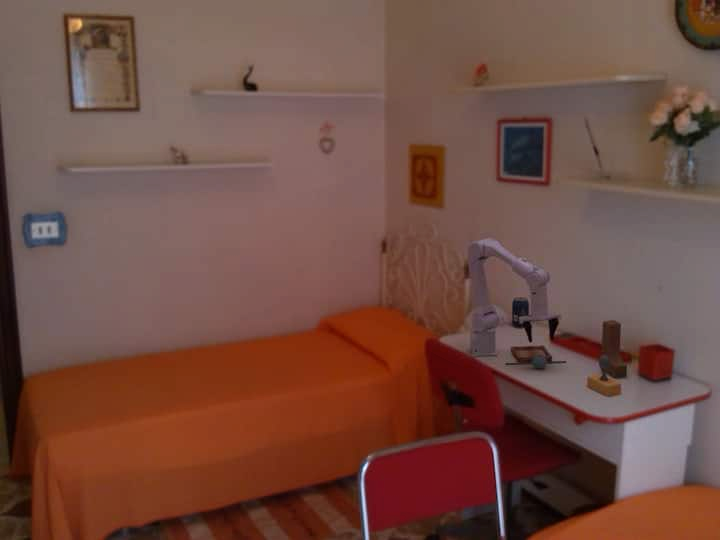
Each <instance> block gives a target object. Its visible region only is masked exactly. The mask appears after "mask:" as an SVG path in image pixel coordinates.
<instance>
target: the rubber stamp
mask: <svg viewBox="0 0 720 540" xmlns="http://www.w3.org/2000/svg"><path fill="white" fill-rule="evenodd" d="M598 359H599V360H598V365H599V369H600V371H601V373H597V374H592V375H587V378H586V379H587V381H586V383H587V384H586V386H587V387H588V388H590V389H591V390H594V391H595V392H598V393H600V394H601V395H604V396H605V397H612V396H617V395H621V394H622V392H621V391H622V383H621V382H620V381H617V380H615V379H613V378H612V377H609V376H607V373H606V372H607V369H608V367H609V365H610V359H609V357H608V356H606V355H603V356H602V355H601V356H599V358H598Z"/></svg>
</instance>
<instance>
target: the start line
mask: <svg viewBox="0 0 720 540" xmlns="http://www.w3.org/2000/svg"><path fill="white" fill-rule="evenodd" d="M547 364H567V361H566V360H560V361H559V360H557V361H553V360H552V361H546V365H547ZM512 365H514V366H515V365H517V366H518V365H519V366H520V365H533V364H532V362H506V363H505V366H512Z"/></svg>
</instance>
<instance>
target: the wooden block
mask: <svg viewBox="0 0 720 540" xmlns="http://www.w3.org/2000/svg"><path fill="white" fill-rule="evenodd" d="M621 329H622V324H621V322H619V321H617V320H614V319H610V320H604V321H602V331H601V333H602V334H601V356H603V355H606V356H608V357H609V359H610V365H609V367H608V369H607V372H606V375H609V376H611V378H614V379H619V378H621V379H622V378H627V375H628V374H627V371H628V366H627V364H626V363H625V362H624V361H623V358H622V357H621V356H622V355H621V351H620V350H621V334H622V333H621V331H622V330H621Z"/></svg>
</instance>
